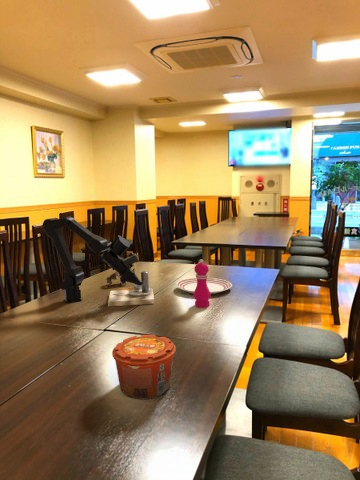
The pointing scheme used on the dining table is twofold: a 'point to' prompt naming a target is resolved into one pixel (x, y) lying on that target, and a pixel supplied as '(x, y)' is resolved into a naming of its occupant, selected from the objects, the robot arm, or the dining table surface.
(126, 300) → the stand
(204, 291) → the pepper mill
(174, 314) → the dining table surface
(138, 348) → the food container
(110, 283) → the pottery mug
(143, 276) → the shiny grey rounded pieces
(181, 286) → the dinner plate
